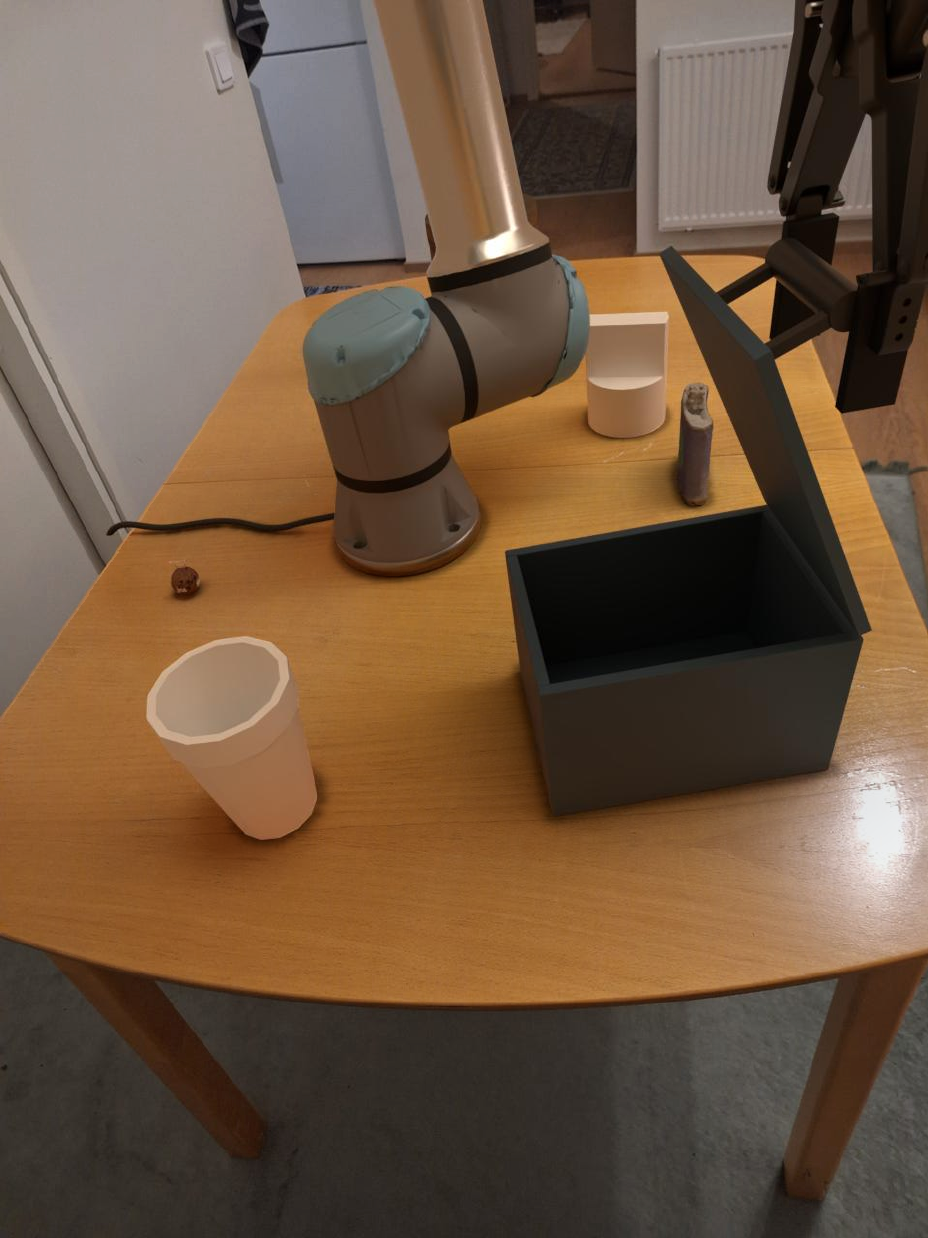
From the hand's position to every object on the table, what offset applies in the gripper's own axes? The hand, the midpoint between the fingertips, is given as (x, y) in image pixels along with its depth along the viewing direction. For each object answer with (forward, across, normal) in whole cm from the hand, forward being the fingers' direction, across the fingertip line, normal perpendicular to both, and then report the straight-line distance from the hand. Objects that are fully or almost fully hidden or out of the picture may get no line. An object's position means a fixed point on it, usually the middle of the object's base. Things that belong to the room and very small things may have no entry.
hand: (827, 368), depth 44 cm
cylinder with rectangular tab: (+27, -45, 0) cm, 53 cm away
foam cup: (+27, +2, -38) cm, 47 cm away
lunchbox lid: (+4, 0, -3) cm, 5 cm away
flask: (+27, -30, +3) cm, 41 cm away
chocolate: (+27, -26, -50) cm, 62 cm away
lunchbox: (+27, 0, -8) cm, 28 cm away
